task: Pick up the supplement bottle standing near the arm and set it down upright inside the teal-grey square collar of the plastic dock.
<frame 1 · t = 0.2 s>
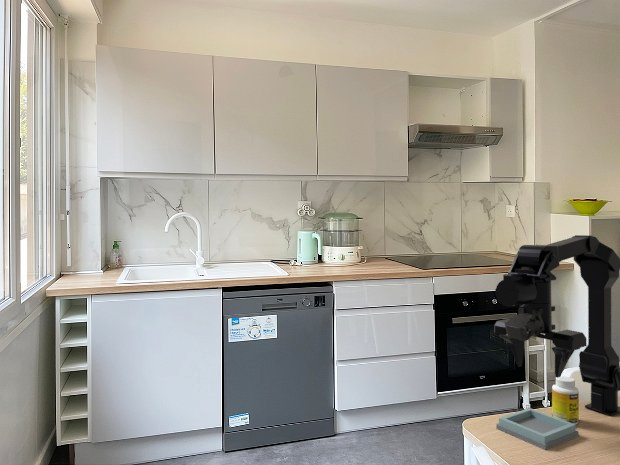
hand: (538, 371, 104), 14 cm above the table, fingers open, 9 cm apart
supplement bottle: (565, 422, 111), on the table
dock: (536, 432, 105), on the table
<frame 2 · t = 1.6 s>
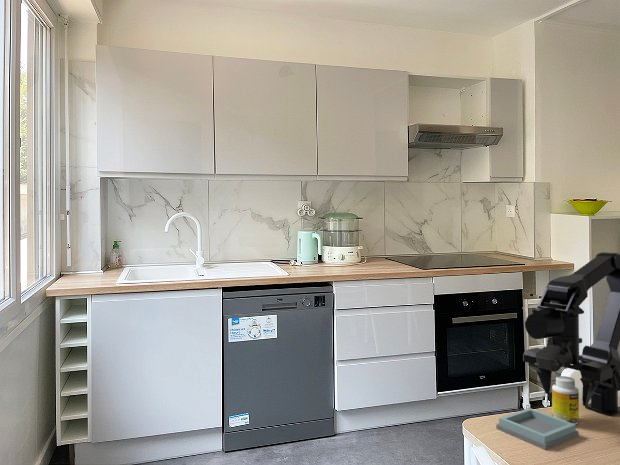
hand: (565, 399, 111), 5 cm above the table, fingers open, 9 cm apart
nothing on the table moved.
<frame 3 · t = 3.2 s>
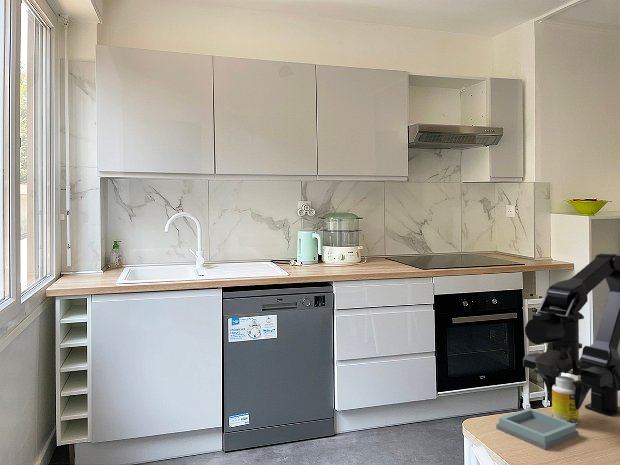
hand: (565, 404, 111), 4 cm above the table, fingers closed on supplement bottle, 5 cm apart
supplement bottle: (565, 422, 111), on the table, touching gripper
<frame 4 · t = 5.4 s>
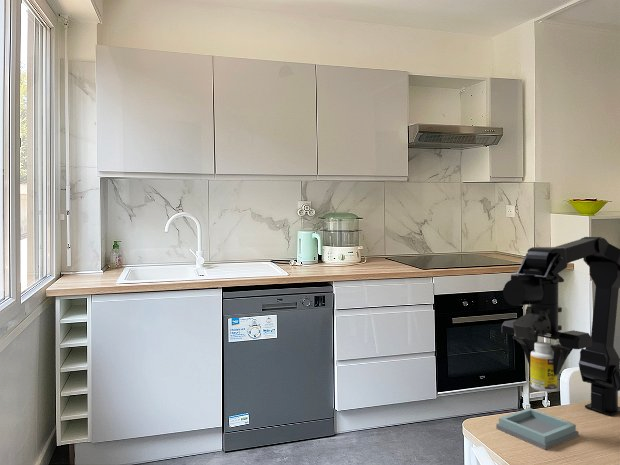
hand: (543, 371, 107), 13 cm above the table, fingers closed on supplement bottle, 5 cm apart
supplement bottle: (543, 389, 107), point 9 cm above the table, touching gripper
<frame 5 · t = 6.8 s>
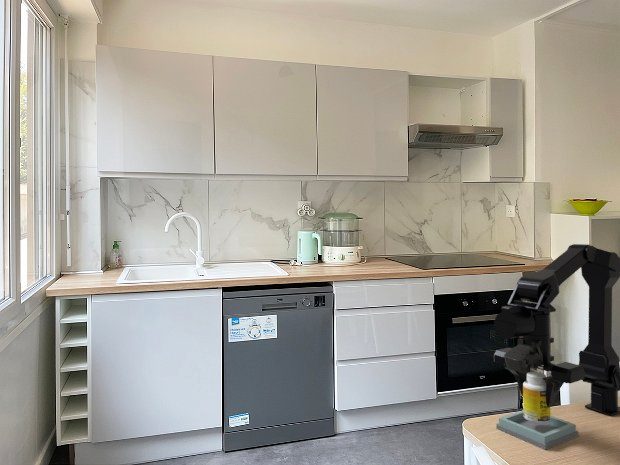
hand: (536, 401, 105), 7 cm above the table, fingers closed on supplement bottle, 5 cm apart
supplement bottle: (536, 420, 105), point 3 cm above the table, touching gripper
when the fingers open (6 cm above the table, at t = 8.0 s): supplement bottle drops 1 cm, resting on dock.
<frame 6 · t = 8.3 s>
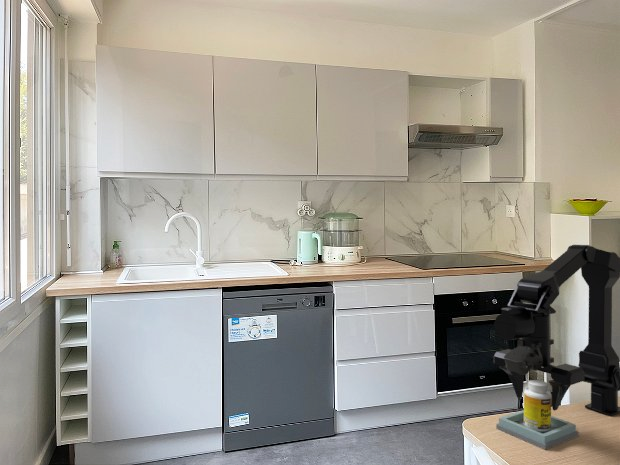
hand: (536, 403, 105), 6 cm above the table, fingers open, 8 cm apart
supplement bottle: (536, 428, 106), point 1 cm above the table, touching dock
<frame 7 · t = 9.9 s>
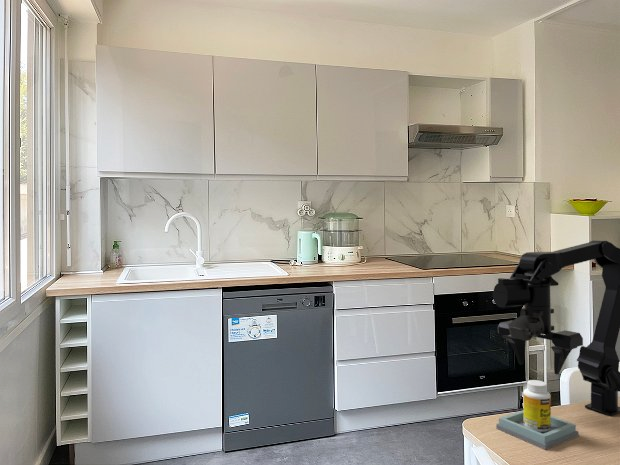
hand: (538, 368, 113), 12 cm above the table, fingers open, 9 cm apart
nothing on the table moved.
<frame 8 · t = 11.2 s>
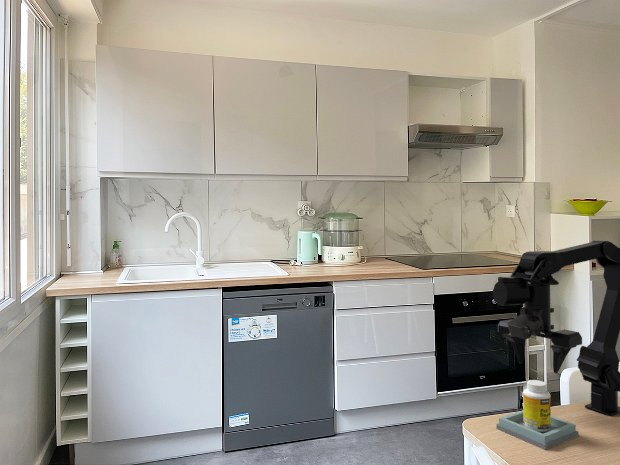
hand: (537, 367, 114), 12 cm above the table, fingers open, 9 cm apart
nothing on the table moved.
at the end: supplement bottle 0.1 cm off-centre on the dock, point 0.8 cm above the dock's base; supplement bottle tilted 0°; the gripper is holding nothing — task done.
